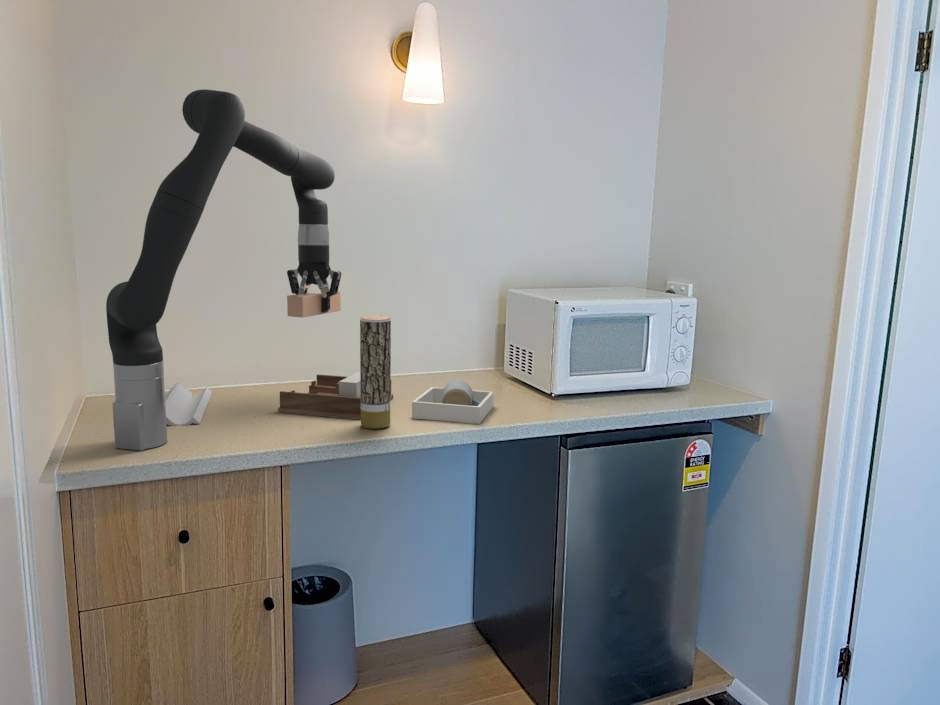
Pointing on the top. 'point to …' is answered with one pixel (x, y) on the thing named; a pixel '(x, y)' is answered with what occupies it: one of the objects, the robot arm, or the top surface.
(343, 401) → the rack
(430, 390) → the frame
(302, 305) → the clay bar
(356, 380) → the grey bar
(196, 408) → the crown molding
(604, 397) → the top surface
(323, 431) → the top surface
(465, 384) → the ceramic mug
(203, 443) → the top surface
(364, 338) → the bark log cylinder
